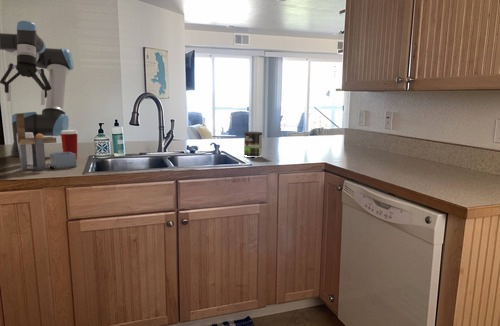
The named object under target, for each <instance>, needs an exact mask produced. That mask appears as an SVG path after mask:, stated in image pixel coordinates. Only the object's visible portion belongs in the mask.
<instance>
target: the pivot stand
mask: <svg viewBox="0 0 500 326" xmlns="http://www.w3.org/2000/svg"><path fill="white" fill-rule="evenodd" d="M35 142H36V144H31V146H32V159H33V165H28V168H29V169H30V170H31V171H34V172H37V171H38V172H39V171H49V169H50V167H51V166H47V164H46V155H45V153H46V152H45V143H44V139H35Z"/></svg>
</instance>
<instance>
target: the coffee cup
mask: <svg viewBox="0 0 500 326" xmlns="http://www.w3.org/2000/svg"><path fill="white" fill-rule="evenodd" d="M60 134H61V136H60V138H61V144H62V145H61V146H62V152H72V153H75V154H76V161H77V160H78V134H79V132H78V130H76V129H68V130H62V131H61V133H60Z"/></svg>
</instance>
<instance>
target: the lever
mask: <svg viewBox="0 0 500 326" xmlns="http://www.w3.org/2000/svg"><path fill="white" fill-rule="evenodd" d="M23 113H24V112H17V113H15V114H16V124H17V136H18V144H20V145H25V144H36V142H35V139H36V138H25V127H24V114H23ZM39 139H44V144H56V143H57V137H54V136H44V138H39Z"/></svg>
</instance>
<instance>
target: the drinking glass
mask: <svg viewBox="0 0 500 326" xmlns="http://www.w3.org/2000/svg"><path fill="white" fill-rule="evenodd" d="M25 138H34V135H33V133H32V132H25ZM17 144H18V136H17ZM25 145H26V156H27V166H33V159H32V146H31V144H25ZM18 149H19V144H18Z"/></svg>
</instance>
